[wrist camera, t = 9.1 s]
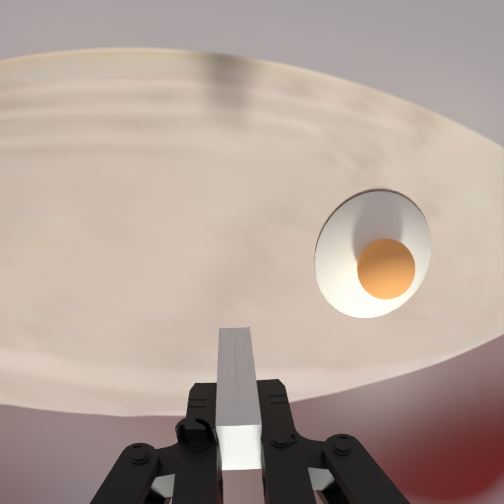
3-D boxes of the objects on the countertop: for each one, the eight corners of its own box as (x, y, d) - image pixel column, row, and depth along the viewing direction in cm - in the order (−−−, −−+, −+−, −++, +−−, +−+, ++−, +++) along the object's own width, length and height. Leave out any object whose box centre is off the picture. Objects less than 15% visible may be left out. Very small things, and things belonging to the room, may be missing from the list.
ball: (358, 230, 30) (359, 245, 25) (413, 234, 28) (424, 250, 23) (355, 283, 31) (353, 307, 26) (406, 287, 30) (414, 311, 25)
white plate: (316, 189, 28) (316, 190, 27) (435, 193, 28) (436, 193, 28) (310, 322, 31) (311, 323, 31) (420, 310, 32) (421, 311, 32)
